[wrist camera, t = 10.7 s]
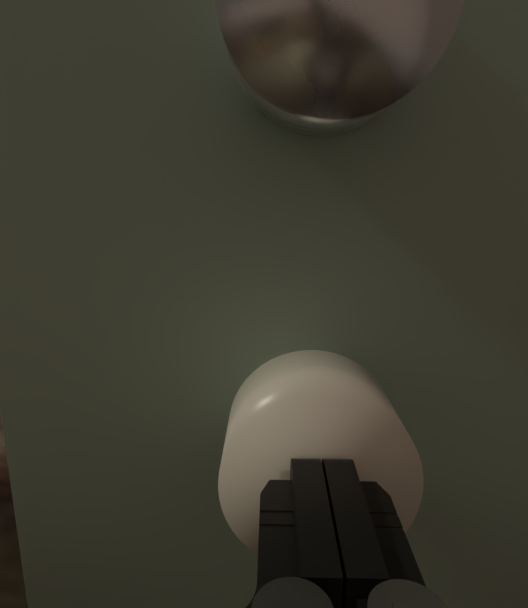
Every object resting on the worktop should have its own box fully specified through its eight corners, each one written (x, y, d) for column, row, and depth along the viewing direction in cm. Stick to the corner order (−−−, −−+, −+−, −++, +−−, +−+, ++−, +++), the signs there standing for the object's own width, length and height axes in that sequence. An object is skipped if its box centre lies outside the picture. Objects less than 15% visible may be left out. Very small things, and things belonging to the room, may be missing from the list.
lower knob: (414, 575, 12) (432, 394, 10) (219, 571, 12) (216, 391, 10) (361, 434, 18) (368, 315, 17) (238, 432, 18) (237, 313, 17)
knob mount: (572, 644, 17) (787, -360, 10) (31, 632, 17) (-107, -358, 10) (476, 500, 24) (561, -119, 18) (106, 494, 25) (55, -120, 18)
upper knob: (452, 120, 10) (482, -171, 8) (214, 118, 10) (210, -171, 8) (376, 150, 16) (386, -7, 15) (237, 149, 16) (237, -8, 15)
